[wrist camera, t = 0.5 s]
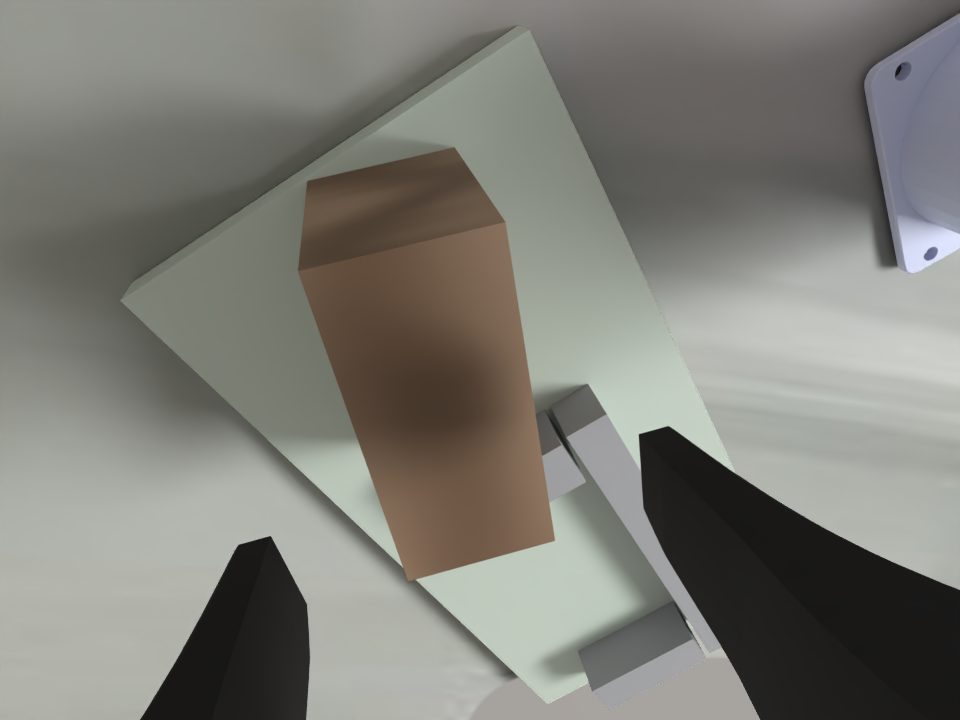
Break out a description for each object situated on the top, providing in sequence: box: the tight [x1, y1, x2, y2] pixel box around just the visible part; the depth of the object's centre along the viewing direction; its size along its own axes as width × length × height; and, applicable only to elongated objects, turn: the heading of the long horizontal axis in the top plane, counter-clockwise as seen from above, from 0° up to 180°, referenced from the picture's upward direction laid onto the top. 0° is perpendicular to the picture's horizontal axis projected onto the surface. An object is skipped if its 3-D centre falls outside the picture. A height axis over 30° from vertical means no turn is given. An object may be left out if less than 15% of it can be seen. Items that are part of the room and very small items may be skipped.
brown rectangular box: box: [298, 147, 555, 582], centre depth 17 cm, size 4×9×6 cm, turn 10°
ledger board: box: [120, 26, 736, 709], centre depth 24 cm, size 13×27×3 cm, turn 30°
